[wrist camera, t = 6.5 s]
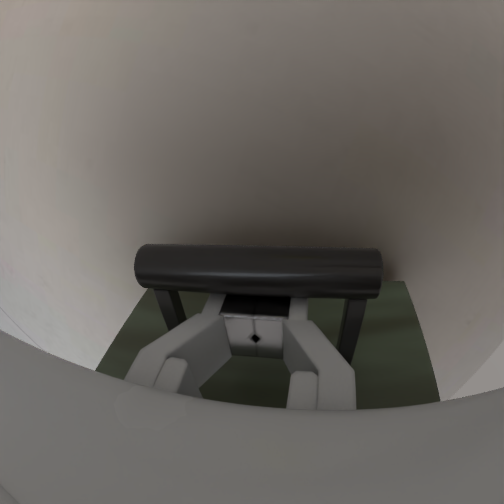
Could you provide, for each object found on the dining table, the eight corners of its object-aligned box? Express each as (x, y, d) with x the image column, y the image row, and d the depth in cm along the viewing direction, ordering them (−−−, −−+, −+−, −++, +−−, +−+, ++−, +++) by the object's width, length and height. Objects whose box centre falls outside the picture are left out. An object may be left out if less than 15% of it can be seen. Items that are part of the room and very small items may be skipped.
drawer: (136, 192, 13) (15, 299, 6) (423, 191, 11) (526, 330, 4) (206, 399, 23) (180, 478, 16) (356, 410, 21) (354, 496, 14)
